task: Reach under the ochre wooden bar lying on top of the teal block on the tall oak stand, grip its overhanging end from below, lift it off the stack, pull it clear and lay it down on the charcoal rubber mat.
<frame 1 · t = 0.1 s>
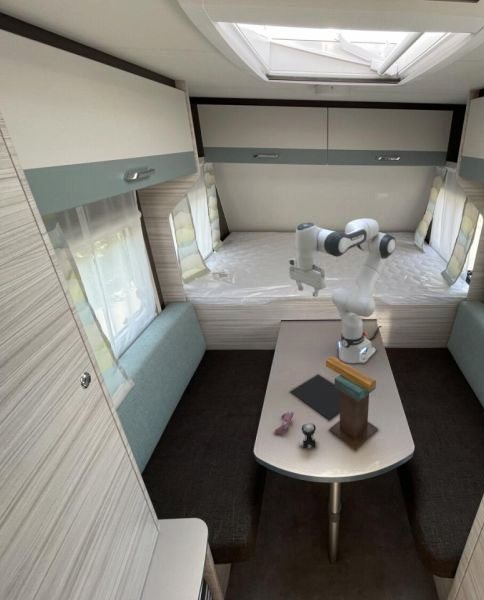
hand: (307, 293, 143), 48 cm above the table, tool pointing down, fingers open, 8 cm apart
mat: (323, 395, 153), on the table
push button: (307, 445, 127), on the table
pink irregular piece: (285, 426, 136), on the table
ochre bar: (349, 375, 125), point 26 cm above the table, touching stand
stand: (353, 430, 134), on the table
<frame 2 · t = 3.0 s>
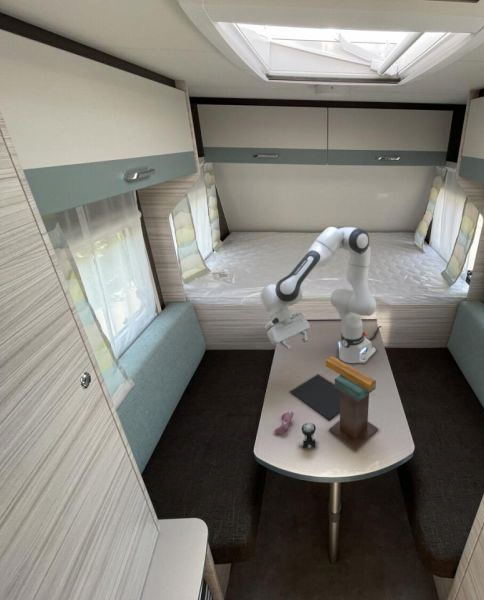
hand: (298, 345, 144), 26 cm above the table, tool tilted 45°, fingers open, 8 cm apart
nothing on the table moved.
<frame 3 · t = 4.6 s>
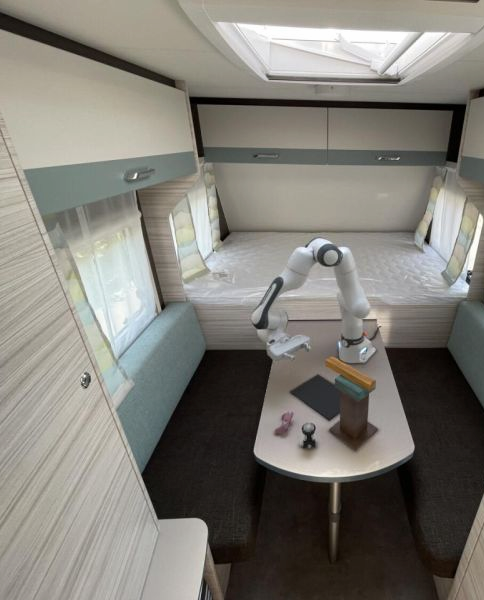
hand: (301, 354, 144), 23 cm above the table, tool horizontal, fingers open, 8 cm apart
nothing on the table moved.
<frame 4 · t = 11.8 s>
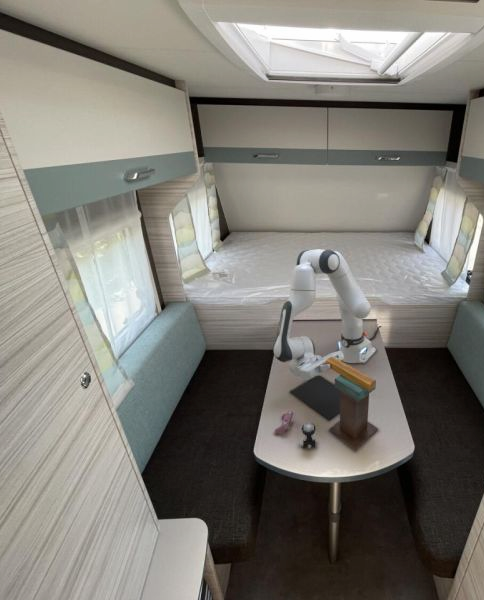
hand: (334, 363, 129), 28 cm above the table, tool pointing upward, fingers closed on ochre bar, 3 cm apart
ochre bar: (349, 375, 125), point 26 cm above the table, touching gripper, stand
everything else where it was.
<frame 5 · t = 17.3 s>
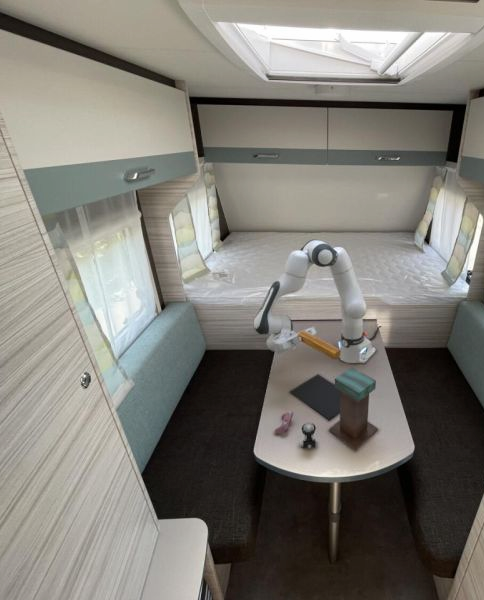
hand: (305, 336, 140), 32 cm above the table, tool pointing upward, fingers closed on ochre bar, 3 cm apart
ochre bar: (318, 347, 136), point 30 cm above the table, touching gripper
everything else where it was.
when the fingers open (20 cm above the table, at t = 22.6 s): ochre bar drops 18 cm, resting on mat.
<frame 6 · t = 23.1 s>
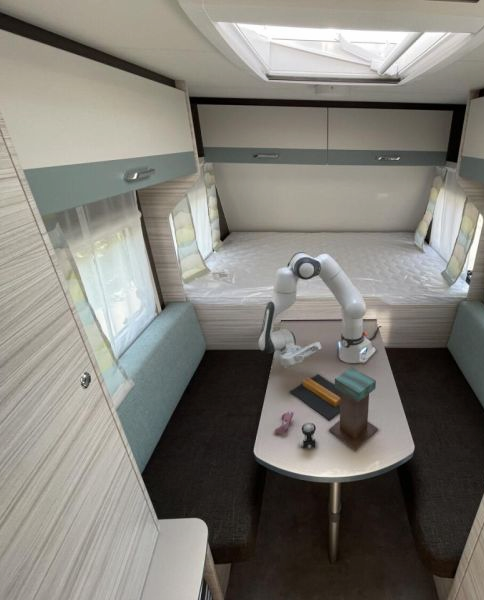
hand: (311, 352, 149), 21 cm above the table, tool pointing upward, fingers open, 8 cm apart
ochre bar: (321, 394, 153), point 1 cm above the table, touching mat
everything else where it was.
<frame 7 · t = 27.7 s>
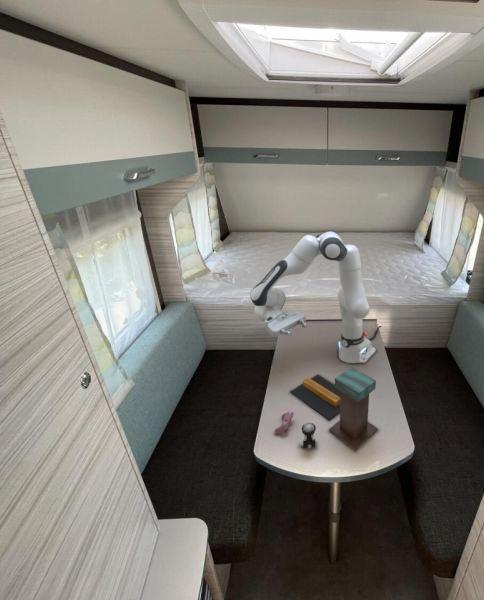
hand: (298, 329, 152), 29 cm above the table, tool horizontal, fingers open, 8 cm apart
nothing on the table moved.
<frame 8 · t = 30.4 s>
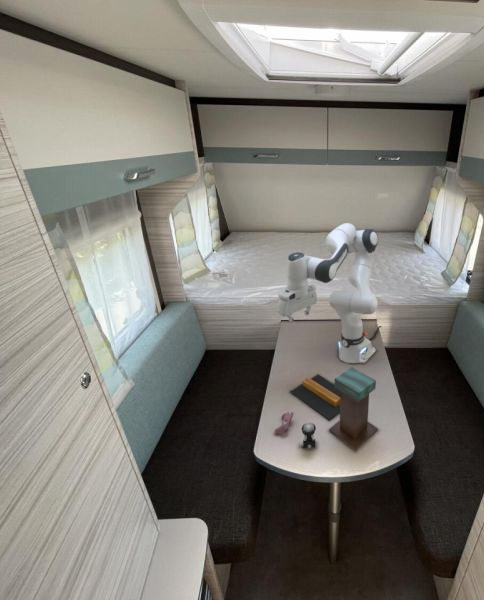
hand: (299, 317, 149), 35 cm above the table, tool pointing down, fingers open, 8 cm apart
nothing on the table moved.
at the end: ochre bar inside the target area on the mat (1.0 cm from its centre), point 0.6 cm above the mat's base; the gripper is holding nothing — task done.
